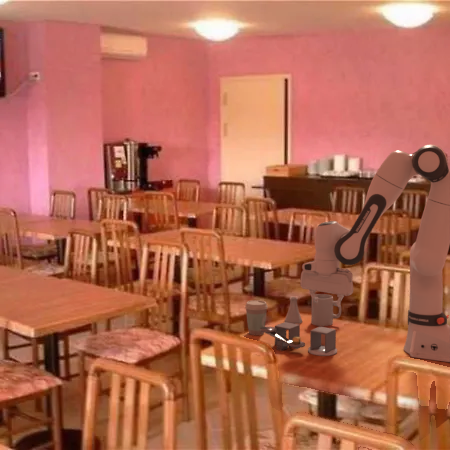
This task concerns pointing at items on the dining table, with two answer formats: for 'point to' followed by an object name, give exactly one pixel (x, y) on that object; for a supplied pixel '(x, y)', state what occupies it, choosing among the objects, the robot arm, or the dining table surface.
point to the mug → (323, 310)
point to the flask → (293, 312)
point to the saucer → (321, 351)
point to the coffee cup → (256, 316)
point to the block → (322, 339)
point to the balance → (283, 339)
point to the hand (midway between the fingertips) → (326, 304)
